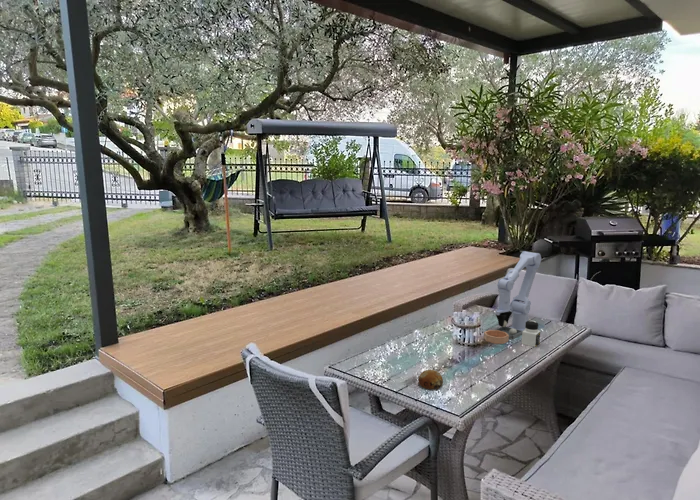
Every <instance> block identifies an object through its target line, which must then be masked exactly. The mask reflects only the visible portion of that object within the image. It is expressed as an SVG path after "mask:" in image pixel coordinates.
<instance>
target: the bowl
mask: <svg viewBox="0 0 700 500" xmlns="http://www.w3.org/2000/svg"><path fill="white" fill-rule="evenodd" d="M483 340H484V341H485V342H488V343H492V344H497V345H498V344H499V345H500V344H501V345H502V344H503V345H504V344H506V343H508V342H509V340H510V339H509V335H508V334H507V333H506V332H503V331H499V330H495V329H487V330H486V331H484V332H483Z"/></svg>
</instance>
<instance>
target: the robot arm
mask: <svg viewBox="0 0 700 500" xmlns="http://www.w3.org/2000/svg"><path fill="white" fill-rule="evenodd" d="M541 262H542V255H541V253H539V252H531V251H526V250H522V252H521V253H520V255H519V260H518V262H517V263H516V265H515V266H514V267H513V269H512V268H511V269H510V270H509V271H508V272H507V273H506V274H505V276H504V277H503V278H501V279H499V280H498V283H497V284H496V285H497V289H498V292H499V294H498V306H497V307H496V311H495V314H494V315H495V316H496V319H497V323H498V326H499V327H501V326H502V327H503V325H504V320H505V321H506V322H507V325H508V323H509V320H510V317H511V315H512V318H511V320H512V321H511V325H510V326H509V327H510V328H514V329H517V330H521V331H524V330H525V326H526V322H527V321H529V313H530V311H531V305H532V302H531V300H530V299H529V296H530V292H531V289H532V286H533V283H534V280H535V276H536V273H537V271H538V270H539V268H540V265H541ZM525 268H526V270H525V274H524V277H523V279H522V283H521V286H520V289H519V292H518V294H517V295H516V296H514V297H512V300H511V291H512V290H513V288H514V285H515V282H516V281H517V279H519V277H520V273H521V272H522V270H523V269H525Z"/></svg>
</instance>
